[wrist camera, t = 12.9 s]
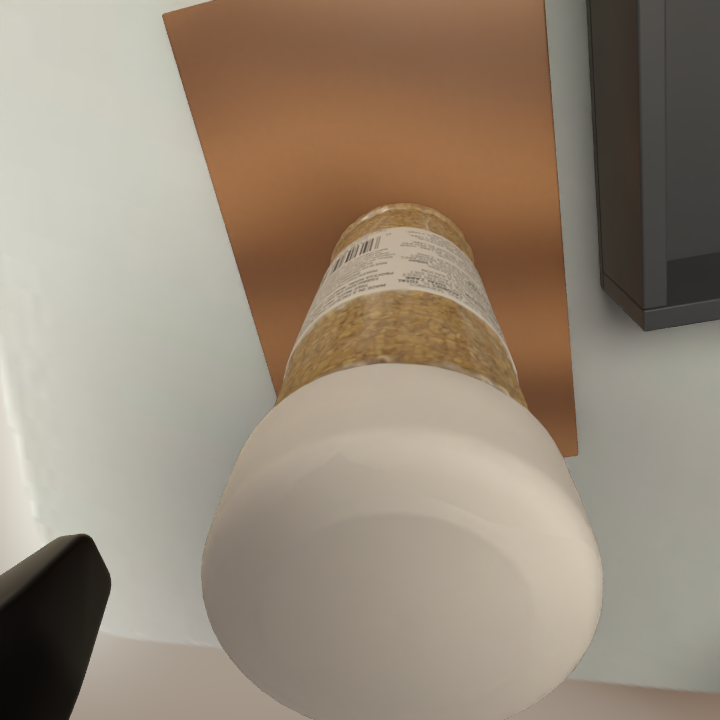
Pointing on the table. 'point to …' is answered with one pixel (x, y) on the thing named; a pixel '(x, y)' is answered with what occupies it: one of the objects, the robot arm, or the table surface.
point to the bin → (657, 156)
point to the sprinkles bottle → (402, 503)
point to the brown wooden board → (385, 154)
